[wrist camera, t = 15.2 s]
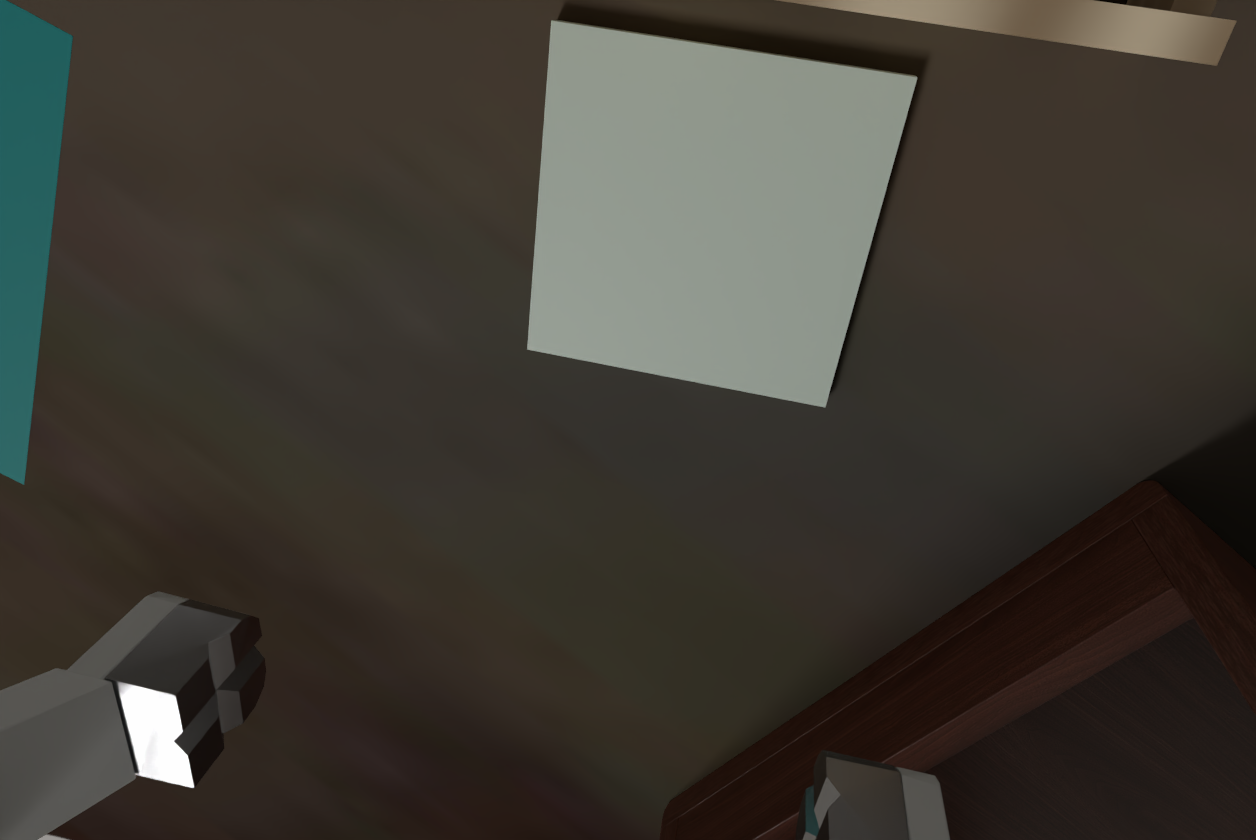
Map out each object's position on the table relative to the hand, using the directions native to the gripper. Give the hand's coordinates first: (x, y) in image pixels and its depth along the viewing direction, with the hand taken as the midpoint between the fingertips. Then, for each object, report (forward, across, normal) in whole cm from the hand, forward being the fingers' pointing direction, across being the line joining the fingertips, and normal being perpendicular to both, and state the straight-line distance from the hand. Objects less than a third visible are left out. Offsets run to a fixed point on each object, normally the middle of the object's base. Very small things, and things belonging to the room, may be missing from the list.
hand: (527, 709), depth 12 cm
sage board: (+27, 0, 0) cm, 27 cm away
